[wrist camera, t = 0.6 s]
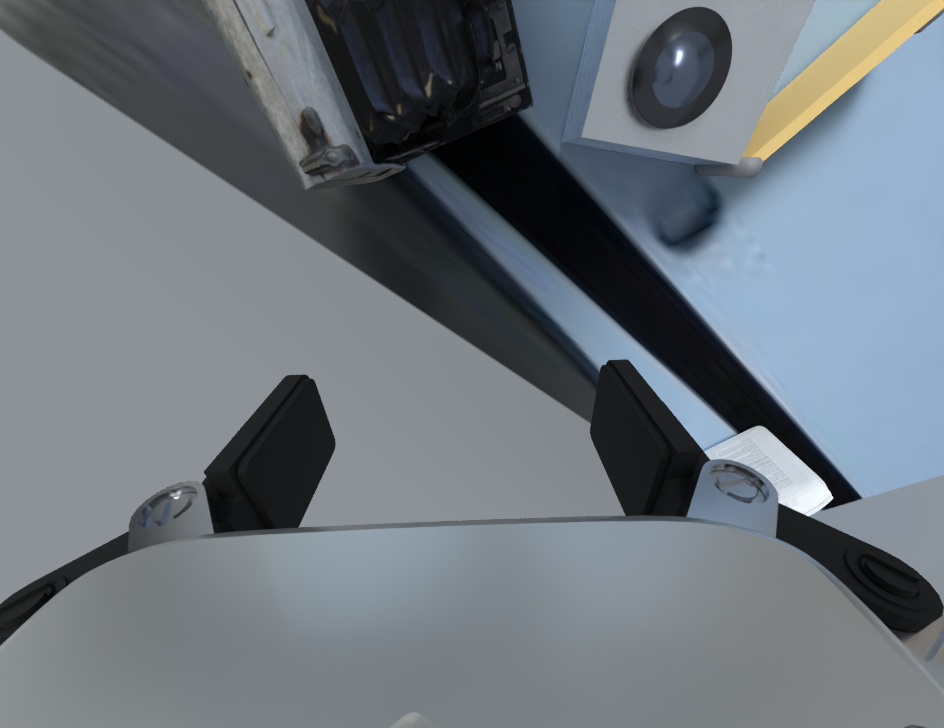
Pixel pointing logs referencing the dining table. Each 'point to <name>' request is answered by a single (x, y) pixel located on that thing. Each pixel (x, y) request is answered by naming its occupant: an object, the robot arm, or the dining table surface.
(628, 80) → the aluminium camera mock-up
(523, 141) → the dining table surface
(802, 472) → the photo printer
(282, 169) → the dining table surface
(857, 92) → the dining table surface
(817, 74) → the ochre side door
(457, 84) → the vintage camera
